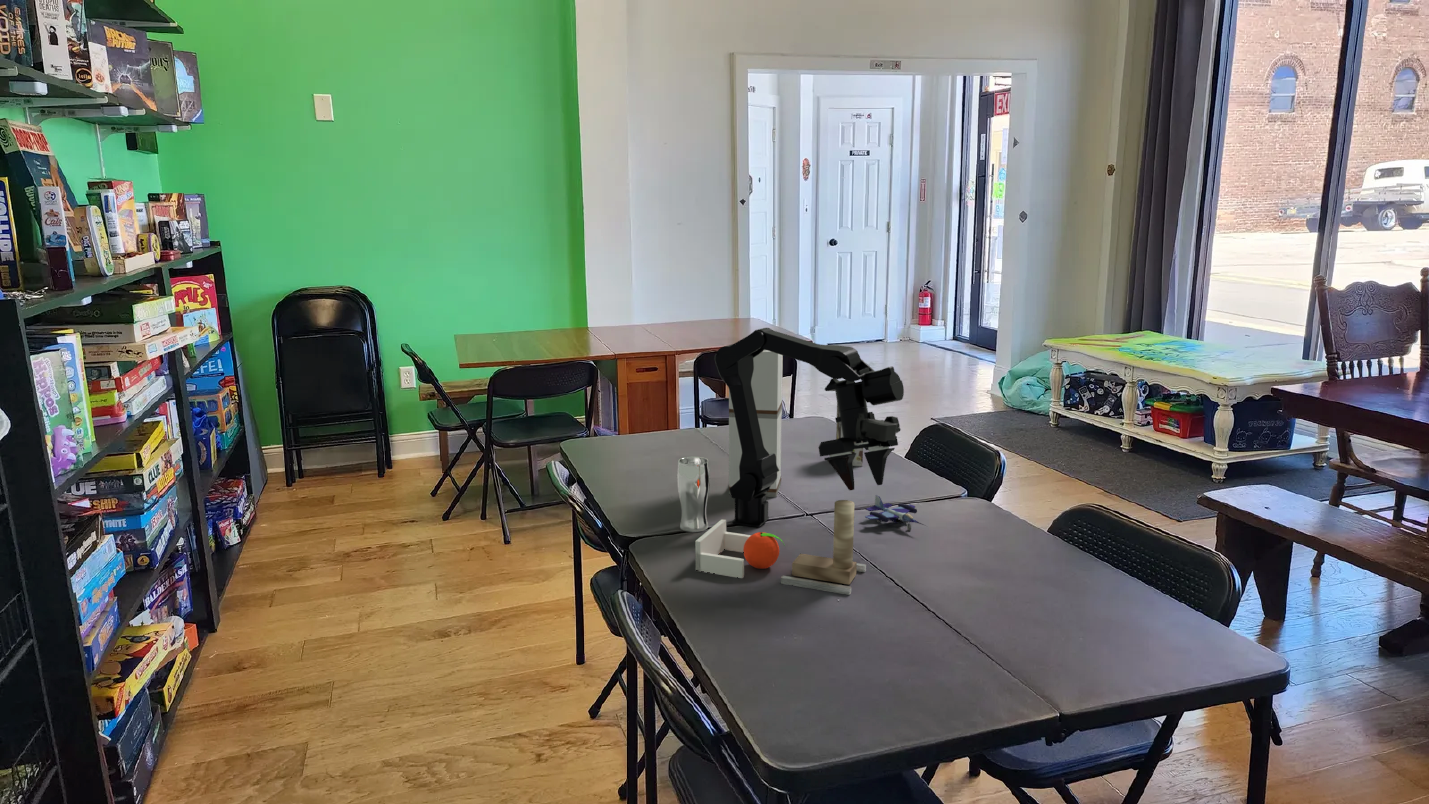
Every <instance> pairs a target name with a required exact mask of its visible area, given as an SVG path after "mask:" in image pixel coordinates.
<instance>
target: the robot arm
mask: <svg viewBox="0 0 1429 804" xmlns="http://www.w3.org/2000/svg"><path fill="white" fill-rule="evenodd" d="M764 350H768V351H771V352H774V353H777V354H780V355H783V356H785V357H788V358H789V359H794V360H795V361H796V360H797V361H800V362H803V363H806V364H809V365H811V367H814V368H815V369H816V370H817V371H818V372H820V373H821V374H824V375H825V376H827V377H829V378H830V379H829V383H827V385H826V386H825V388H824V391H825V392H835V397H836V405H837V404H838V410H839V416H840V417H837V416H836V417H835V418H834V419H835V424H837V423H838V422H841V428H842V434H843V437H842V438H839V439H836V438H835V439H831V440H830V439H829V440H824V441H820V443H819V445H818V453H819V458H820V457H824V461H827V462H828V463H829V465H831V467H832V469H833V470H834V471H835V472H836V473H837V475H838V476H839V478H840V479H841V480H842V482H843V484H844V485H845V487H846V488H847V489H848V491H854V490H855V476H854V466H853V465H852V462H853V460H854V458H855V455H856V453H852V454H851V452H852V451H853V450H854V449H860V448H863V449H865V451H866V452H865V451H864V452H863V455H864V456H865V457H864V458H865V459H866V462H867V464H868V466H869V469H870V472H871V475H872V476H873V480H874V481H875V484H876V485H877V486H882V485H883V483H884V476H885V471H886V463H887V460H888V456H889V455H890V454H891V453H892V452H893V451H895V447H896V446H899V442H898V441H899V440H898V436H897V434H898V433H899V432H901V430H902V429H901V425H900V421H899V418H898V417H897V416H893V415H890V416H886V417H885V419H884V420H883V419H876V417H875V413H874V412H873V411H869V409H868V403H869V404H871V406H879V405H883V404H885V405H886V404H889V403H894V402H899V401H902V400H903V398H904V393H905V390H904V383H903V380H902V379H901V377H900V375H899V374H898V373H897V372H896V370H895V368H894V366H887V367H884V368H883V369H879V370H874V369H873V368H872V367H871V366H870V365H869V364H868V363H867V362H865V361H864V360H863V359H862V358H861V356H860V354H859V352H858V350H857V349H856V348H854V347H853V346H846V345H838V344H820V343H816V342H812V341H809V340H806V339H803V338H799V337H795V336H793V335H790V334H786V333H782V332H780V331H777V330H773V329H772V328H770V327H763V328H758V329H755V330H754V331H753V332H751V333H750V334H748V335H747V336H746V337H743V338H742V339H740V340H738V341H736V342H734V343H732V344H729V345H725V346H721V347H720V348H719V349H718V350H717V352H716V353H715V355H714V362H715V366H716V369H717V371H718V374H719V377H720V378H721V380H722V381H723V382H724V383H725V385H726V386H727V388H728V392H729V391H730V396H731V401H732V406H733V410H734V415H735V420H736V425H737V430H738V435H739V439H740V444H741V449H742V455H741V460H740V464H739V476H740V479H739V480H738V481H737V482H736V483H735V484H734V485H733V486H732V487H731V488H730V489H729V488H728V491H729V490H730V493H731V495H730V497H731V498H732V499H734V518H733V520H732V521H731V524H733V525H740V526H748V527H753V528H760V527H762V525H763V524H765V523H766V522H767V521H768V520H769V517H770V516H769V501H768V500H767V497H766V494H763V493H765V492H768V491H769V489H770V487H771V485H772V484H774V482H775V481H776V479H777V472H778V471H779V469H778V467H777V464H776V455H775V454H774V453H773V454H770V455H769V453H768V452H767V451H766V449H765V448H764V445H763V440H762V436H761V431H760V426H759V421H758V416H757V411H756V406H755V401H754V396H753V391H752V387H751V380H752V375H753V370H754V362H753V358H754V357H756V356H757V355H759V354H760V353H761V352H763V351H764ZM841 379H843V380H841ZM861 441H863V443H862V442H861ZM854 442H855V443H856V444H854Z"/></svg>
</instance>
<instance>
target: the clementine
mask: <svg viewBox="0 0 1429 804" xmlns="http://www.w3.org/2000/svg"><path fill="white" fill-rule="evenodd" d="M776 539H778V540H779V541H781V542H782V544H783V546H784V547H786V545H785V543H784V541H783V540H782V539H781V537H778V536H777V535H775V534H773V533H768V532H764V531H760V532H755V533H753V534H752V535H751V536H750V537H749V538H748V539H747V540H746V542H745V544H744V549H743V551H744V553H743V556H744V560H745V561H746V562H747V563H748V564H749V565H750V567H751V566H752V567H753V568H754V569H760V570H761V569H762V570H764V569H768V568H771V567H772V566H774V564H775V563H776V562H777V560H778V558H779V557H780V556H779V555H780V546H779V543H778V541H777V540H776Z"/></svg>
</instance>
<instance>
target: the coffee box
mask: <svg viewBox="0 0 1429 804" xmlns="http://www.w3.org/2000/svg"><path fill="white" fill-rule="evenodd" d="M837 417H840V416H839V410H838V404H837V403H836V418H837ZM842 437H843V434H842V428H841V422H838V423H836V435H835V439H839V438H842ZM861 442H862V443H863V441H861ZM854 444H856V443H855V442H854ZM852 453H856V455H855V458H854V460H853V462H852V465H853V467H863V463H864V461H863V459H864V448H860V449H854V450H853V451H852V452H851V454H852Z"/></svg>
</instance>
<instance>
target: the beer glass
mask: <svg viewBox="0 0 1429 804" xmlns="http://www.w3.org/2000/svg"><path fill="white" fill-rule="evenodd" d="M709 462H710V461H709V459H708V458H706V457H703V456H685V457H681V458H679V459H678V461H677V472H676V473H677V476H676V477H677V491H678V496H679V501H680V508H681V518H680V525H679V528H680V530H682V531H684V532H688V533H689V532H690V533H698V532H703V531H706V530H708V528H709V523H708V518H707V517H708V516H707V507H708V506H707V505H708V500H709V499H708V498H709V494H710V485H711V478H710V476H711V473H710V471H711V470H710V463H709Z"/></svg>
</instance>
